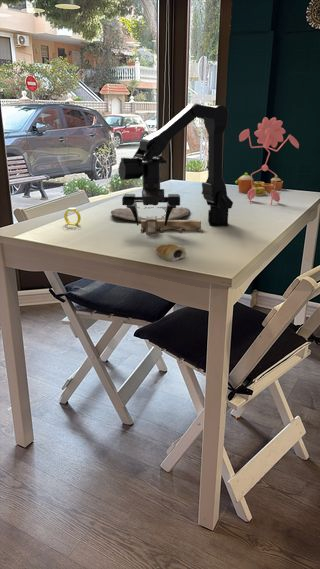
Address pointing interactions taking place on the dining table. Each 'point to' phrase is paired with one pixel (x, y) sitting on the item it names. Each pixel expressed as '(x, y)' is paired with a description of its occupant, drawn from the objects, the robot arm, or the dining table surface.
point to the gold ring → (75, 212)
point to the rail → (175, 225)
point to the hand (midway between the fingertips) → (151, 225)
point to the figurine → (268, 136)
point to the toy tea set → (257, 185)
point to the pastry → (171, 252)
